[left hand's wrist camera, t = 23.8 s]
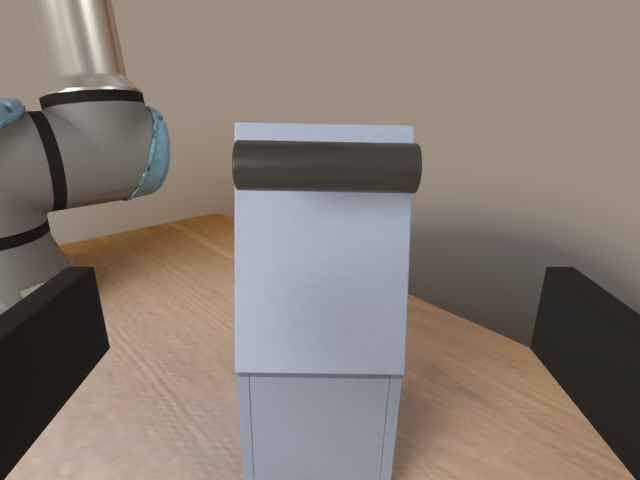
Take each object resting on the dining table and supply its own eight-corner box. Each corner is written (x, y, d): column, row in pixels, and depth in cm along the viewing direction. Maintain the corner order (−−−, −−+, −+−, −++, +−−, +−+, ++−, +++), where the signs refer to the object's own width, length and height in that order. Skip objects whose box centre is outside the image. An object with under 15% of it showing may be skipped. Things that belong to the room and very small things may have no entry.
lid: (237, 124, 23) (196, 85, 15) (410, 128, 24) (460, 90, 15) (237, 366, 25) (199, 446, 17) (401, 368, 25) (443, 449, 17)
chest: (266, 370, 41) (263, 276, 37) (367, 371, 41) (374, 277, 37) (244, 500, 28) (236, 376, 24) (388, 501, 28) (402, 379, 25)
